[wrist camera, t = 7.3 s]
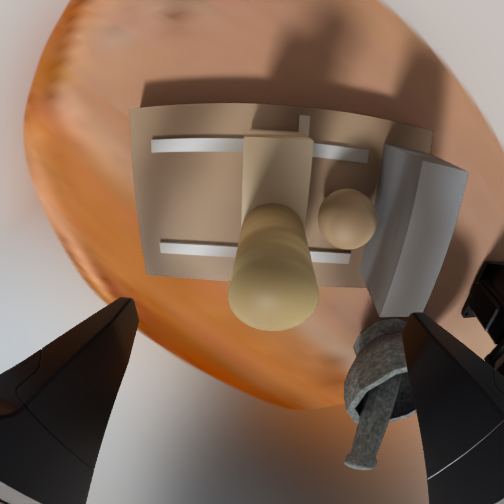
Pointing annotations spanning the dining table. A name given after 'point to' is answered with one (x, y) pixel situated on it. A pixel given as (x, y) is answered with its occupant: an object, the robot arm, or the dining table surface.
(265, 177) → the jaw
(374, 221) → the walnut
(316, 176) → the base
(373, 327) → the mortar and pestle
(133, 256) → the dining table surface
